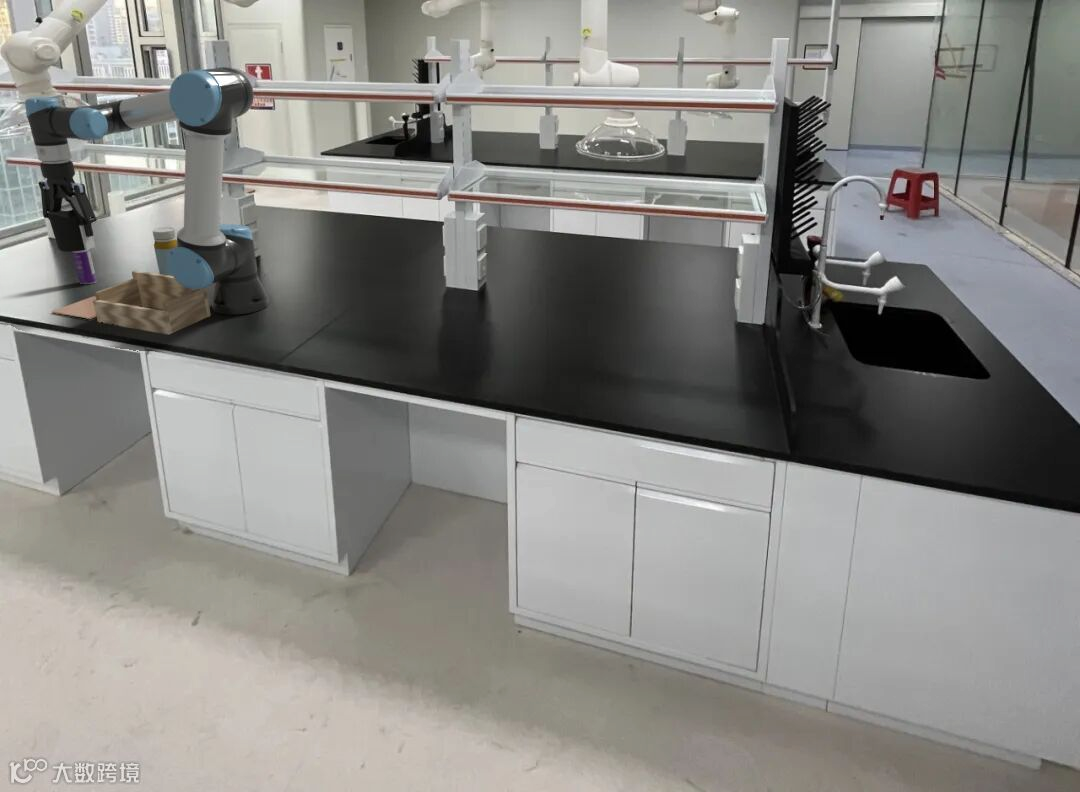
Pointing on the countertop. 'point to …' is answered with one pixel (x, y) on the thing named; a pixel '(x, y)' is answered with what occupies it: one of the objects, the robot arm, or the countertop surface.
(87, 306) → the terracotta tile
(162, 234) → the bottle
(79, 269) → the container
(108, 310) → the open wooden box
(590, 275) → the countertop surface
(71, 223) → the pen holder
